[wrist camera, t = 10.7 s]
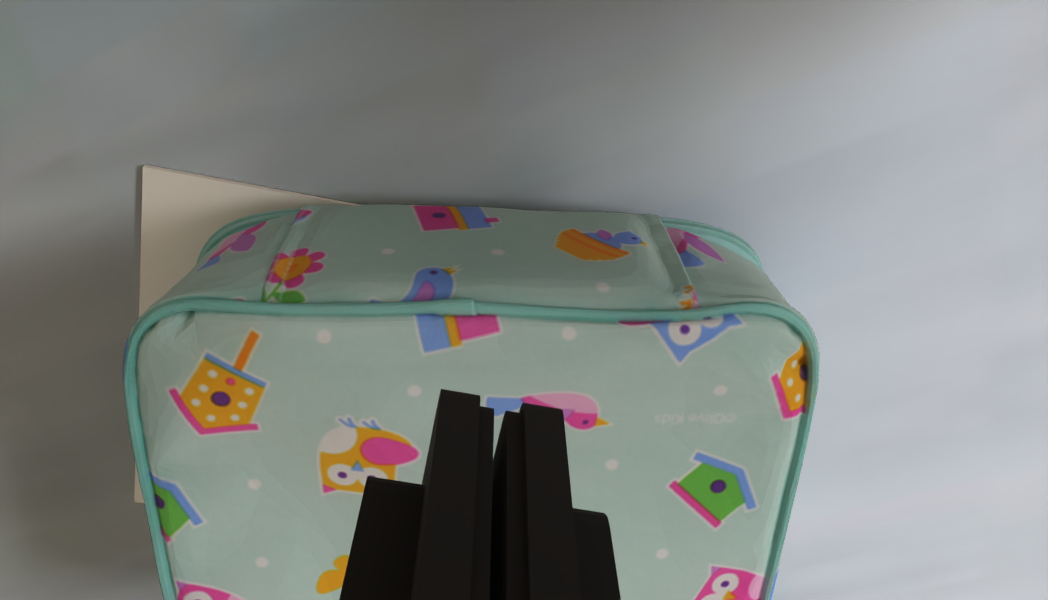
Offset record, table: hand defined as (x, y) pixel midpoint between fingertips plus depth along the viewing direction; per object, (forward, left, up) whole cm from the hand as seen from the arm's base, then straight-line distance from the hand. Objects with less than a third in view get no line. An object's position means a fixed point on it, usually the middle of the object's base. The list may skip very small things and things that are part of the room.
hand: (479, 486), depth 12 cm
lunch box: (+5, 0, -21) cm, 22 cm away
